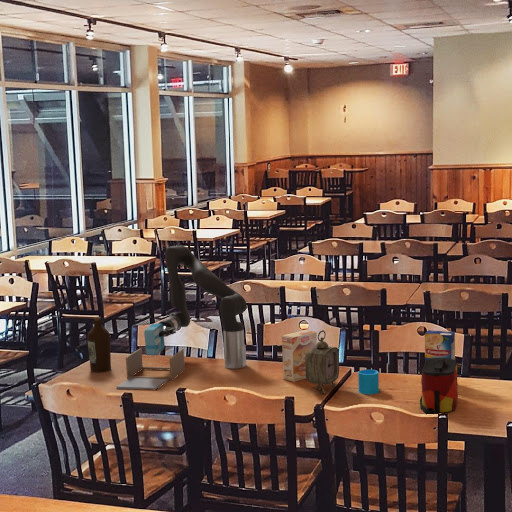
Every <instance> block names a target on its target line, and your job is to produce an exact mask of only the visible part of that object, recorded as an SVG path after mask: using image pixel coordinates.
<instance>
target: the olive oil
mask: <svg viewBox="0 0 512 512" xmlns="http://www.w3.org/2000/svg"><path fill="white" fill-rule="evenodd" d="M93 319H94V320H93V327H92V328H91V329H90V331H88V333H87V338H86V341H87V348H88V349H87V350H88V355H89V369H90V371H91V372H93V373H103V372H108V371H111V369H112V362H111V361H112V358H111V356H112V355H111V334H110V332H109V330H108V329H106V328H105V326H103V324H102V317H101V316H94V317H93Z"/></svg>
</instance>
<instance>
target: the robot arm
mask: <svg viewBox="0 0 512 512" xmlns="http://www.w3.org/2000/svg"><path fill="white" fill-rule="evenodd" d="M164 258H165V259H164V260H165V264H166V265H165V266H166V269H167V275H168V279H169V285H170V299H171V300H170V301H171V307H172V308H174V309H178V310H179V311H180V312H171V313H169V314H168V317H167V318H164V319H163V320H161V321H160V322H158V323H157V324H162V325H163V331H161V332H159V337H162V336H164V338H165V337H168V336H171V335H174V334H177V330H179V329H180V328H186V327H189V325H190V324H191V316H190V313H189V309H188V307H187V306H188V305H187V302H186V301H187V299H186V294H187V293H186V289H185V285H184V284H183V282H182V280H181V277H180V276H179V271H178V267H179V265H182V266H184V267H186V268H187V269H188V270H189V271H190V272H191V275H192V276H191V277H192V280H193V282H194V283H195V284H196V285H197V287H199V288H200V289H201V290H203V292H205V293H208V294H210V295H212V296H215V297H217V298H220V299H221V300H220V303H219V309H220V310H219V311H220V320H221V325H222V328H223V347H224V349H223V350H224V366H225V368H227V369H234V370H235V369H244V368H245V367H246V366H247V350H246V348H247V347H246V344H245V332H244V330H245V329H244V323H243V322H240V321H237V316H238V315H241V314H243V313H245V311H246V310H247V307H248V306H247V301H246V299H245V298H244V297H243V295H241V294H240V293H239V292H237V291H236V290H234V289H233V288H231V287H230V286H228V285H227V284H226V283H225V282H224V281H222V279H220V278H219V277H218V276H217V275H216V274H215V273H213V272H212V270H211V269H209V268H208V267H206V266H205V265H204V263H202V262H201V261H200V260H199V258H197V257H196V256H195V254H193V252H192V251H191V250H190V249H189V248H188V247H186V246H185V245H182V244H181V245H172V246H169V247H167V248H166V250H165V254H164Z"/></svg>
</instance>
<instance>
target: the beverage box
mask: <svg viewBox="0 0 512 512" xmlns="http://www.w3.org/2000/svg"><path fill="white" fill-rule="evenodd" d="M443 357H444V358H451V359H454V360H456V332H455V331H450V330H433V329H432V330H431V329H428V330H427V331H425V333H424V362H425V361H426V360H427V359H430V358H443Z"/></svg>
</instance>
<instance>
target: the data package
mask: <svg viewBox="0 0 512 512" xmlns="http://www.w3.org/2000/svg"><path fill="white" fill-rule="evenodd" d="M161 331H163V325H162V324H158V323H151V324H150V325H149V326H148V327H146V328H145V329H144V331H143V333H144V334H143V336H144V342H145V343H144V344H145V354H146V356H158V355H159V354H160V353H161V352H162V351H163V350H164V349H165V347H166V346H165V337H164V336H162V337H159V332H161Z"/></svg>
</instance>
